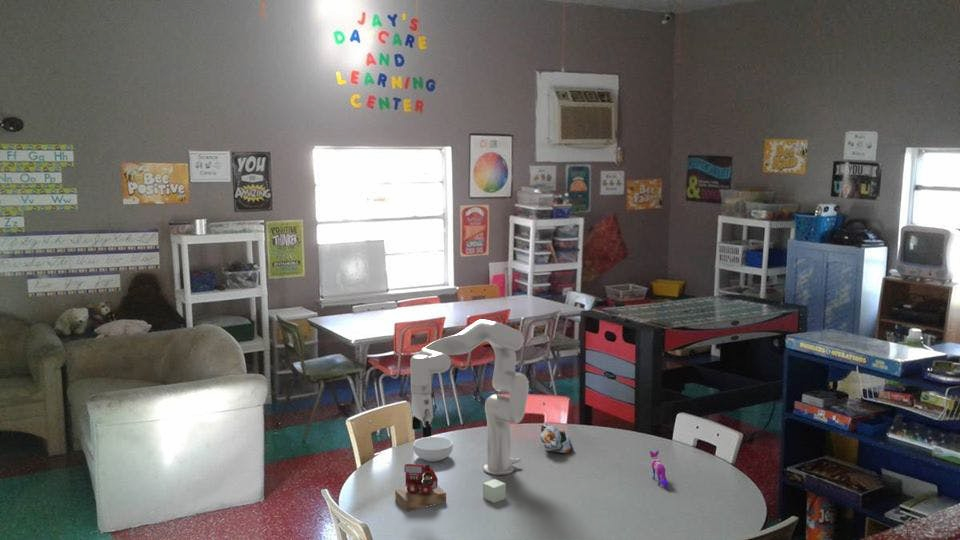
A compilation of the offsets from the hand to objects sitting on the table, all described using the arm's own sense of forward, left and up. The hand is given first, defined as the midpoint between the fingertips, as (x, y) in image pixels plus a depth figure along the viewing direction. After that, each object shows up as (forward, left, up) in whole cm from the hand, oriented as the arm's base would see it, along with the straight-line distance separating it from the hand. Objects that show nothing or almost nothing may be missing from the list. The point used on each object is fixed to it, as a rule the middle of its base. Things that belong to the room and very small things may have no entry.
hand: (421, 432), depth 297 cm
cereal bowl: (-21, -36, -26) cm, 50 cm away
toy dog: (-91, +28, -26) cm, 98 cm away
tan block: (+1, +2, -26) cm, 26 cm away
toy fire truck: (+1, +1, -22) cm, 22 cm away
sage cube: (-25, +12, -26) cm, 38 cm away
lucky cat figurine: (-73, -20, -26) cm, 80 cm away
